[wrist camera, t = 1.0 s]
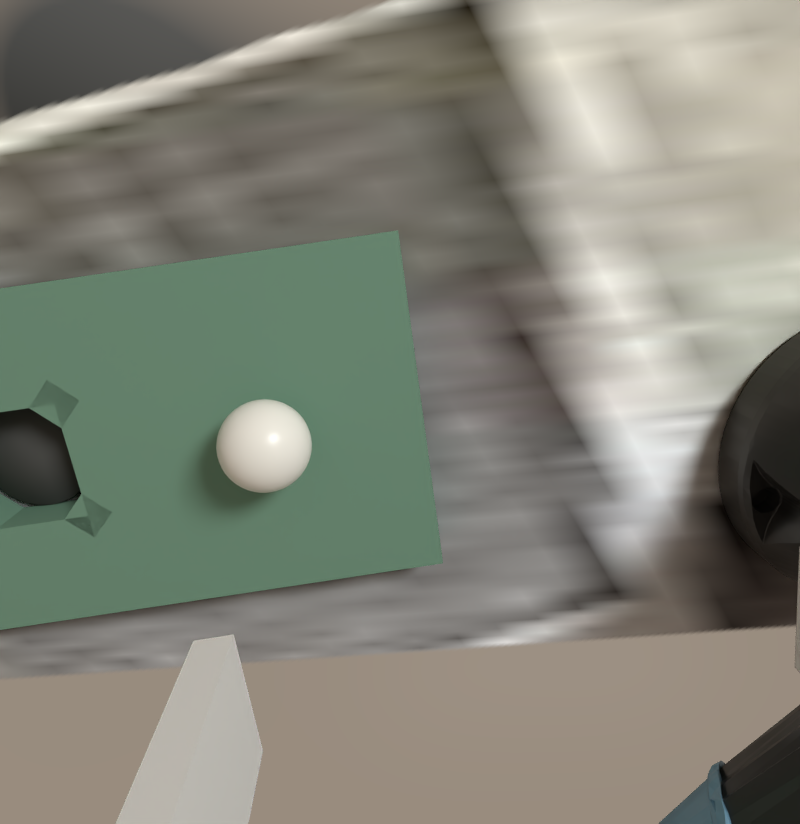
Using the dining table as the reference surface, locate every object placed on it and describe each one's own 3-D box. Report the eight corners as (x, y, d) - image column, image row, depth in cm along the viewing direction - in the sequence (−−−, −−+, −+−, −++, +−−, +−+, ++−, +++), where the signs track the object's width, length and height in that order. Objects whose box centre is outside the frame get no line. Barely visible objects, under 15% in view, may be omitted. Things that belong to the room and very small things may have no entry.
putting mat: (395, 230, 29) (397, 230, 27) (437, 539, 33) (442, 563, 31) (-164, 312, 29) (-212, 319, 26) (-47, 612, 33) (-80, 641, 31)
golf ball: (330, 415, 29) (324, 443, 25) (290, 486, 30) (278, 524, 26) (251, 373, 28) (233, 395, 24) (212, 447, 29) (188, 480, 25)
